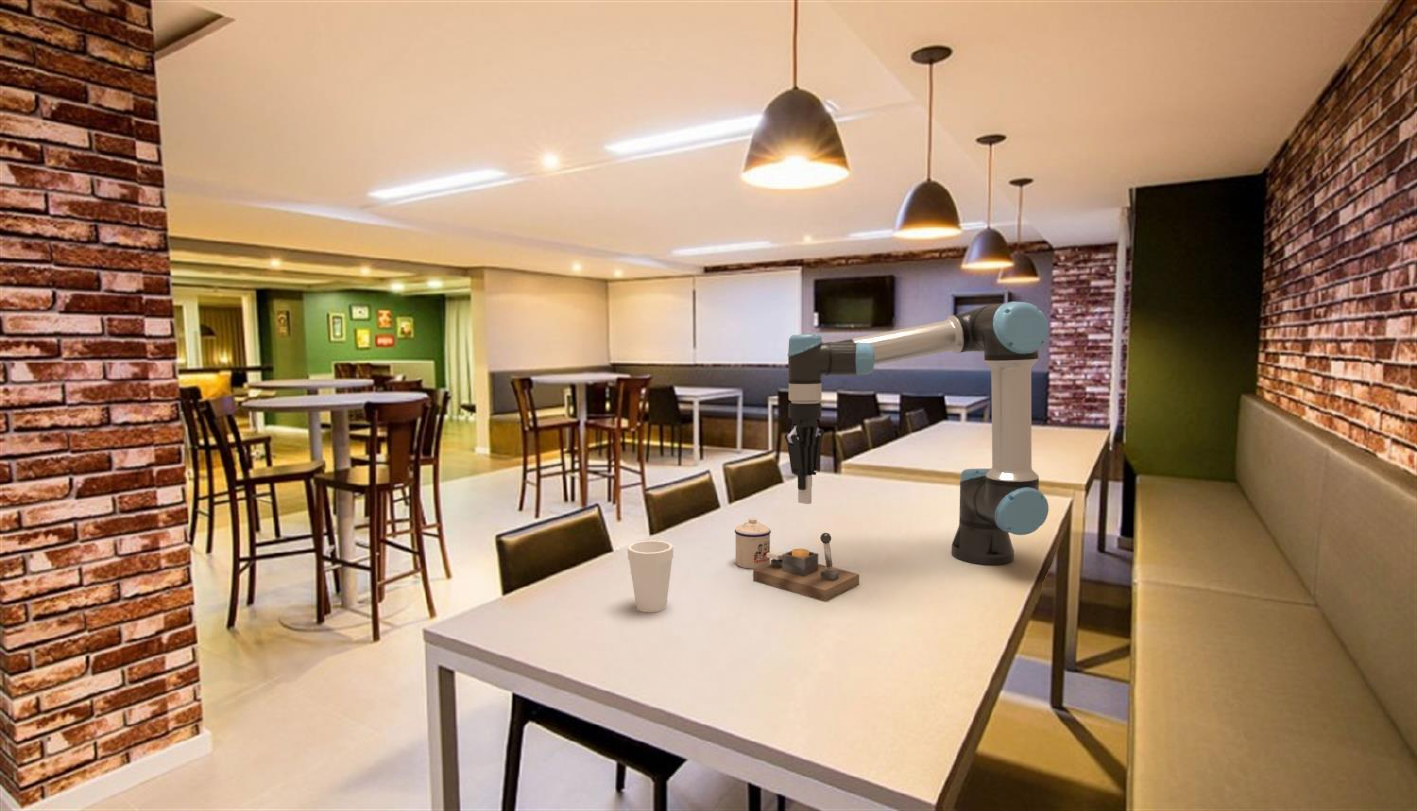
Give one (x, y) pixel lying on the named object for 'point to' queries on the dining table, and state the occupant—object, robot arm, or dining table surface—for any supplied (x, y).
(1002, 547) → the robot arm
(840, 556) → the dining table surface
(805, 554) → the push button
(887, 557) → the dining table surface
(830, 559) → the toggle lever
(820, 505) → the dining table surface
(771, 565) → the switch panel
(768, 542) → the teacup with lid
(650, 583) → the foam cup
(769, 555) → the rocker switch
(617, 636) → the dining table surface
